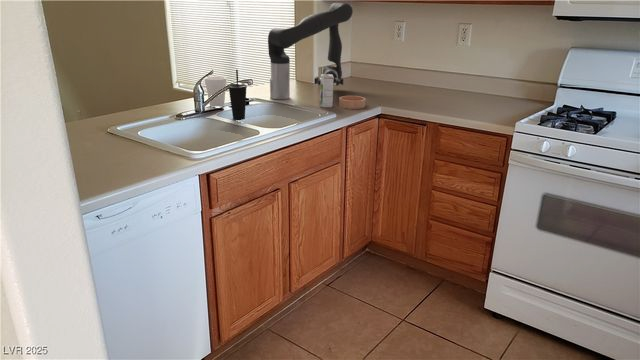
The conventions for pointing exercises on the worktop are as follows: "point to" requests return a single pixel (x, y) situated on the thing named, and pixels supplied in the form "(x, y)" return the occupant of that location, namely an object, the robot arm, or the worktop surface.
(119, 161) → the worktop surface
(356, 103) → the terracotta bowl
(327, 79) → the syrup box
